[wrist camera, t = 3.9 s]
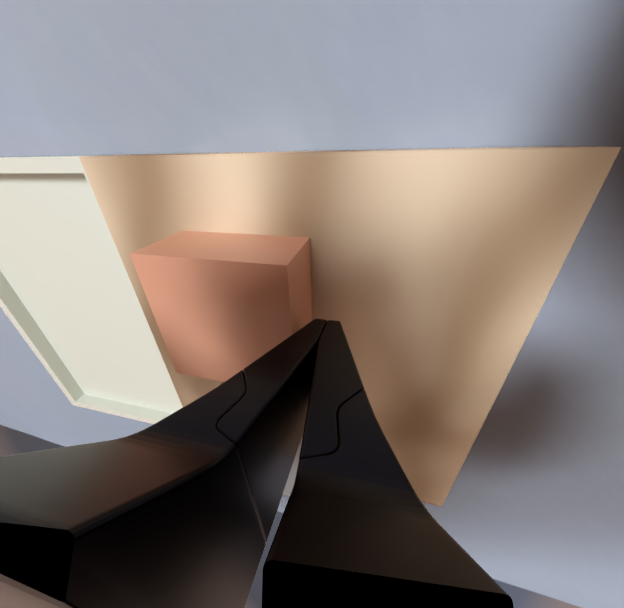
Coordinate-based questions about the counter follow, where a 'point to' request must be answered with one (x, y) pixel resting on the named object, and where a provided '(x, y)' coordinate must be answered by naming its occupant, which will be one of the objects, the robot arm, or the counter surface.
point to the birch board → (385, 262)
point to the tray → (76, 292)
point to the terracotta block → (225, 296)
